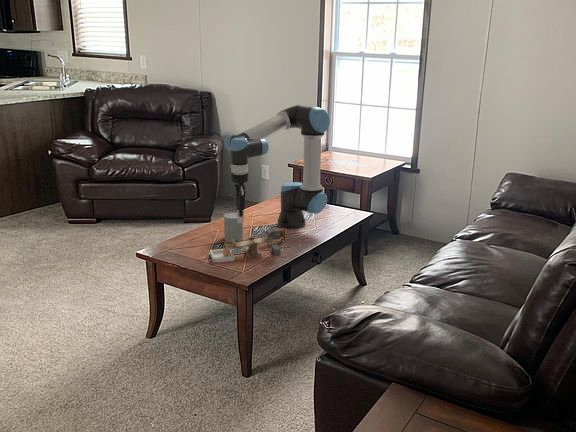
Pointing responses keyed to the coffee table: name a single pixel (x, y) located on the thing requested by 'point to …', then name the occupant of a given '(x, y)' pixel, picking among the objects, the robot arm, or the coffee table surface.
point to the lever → (255, 240)
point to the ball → (225, 252)
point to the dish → (221, 256)
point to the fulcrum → (253, 250)
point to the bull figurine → (281, 232)
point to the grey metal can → (232, 227)
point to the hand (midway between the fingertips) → (240, 222)
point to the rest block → (275, 249)
